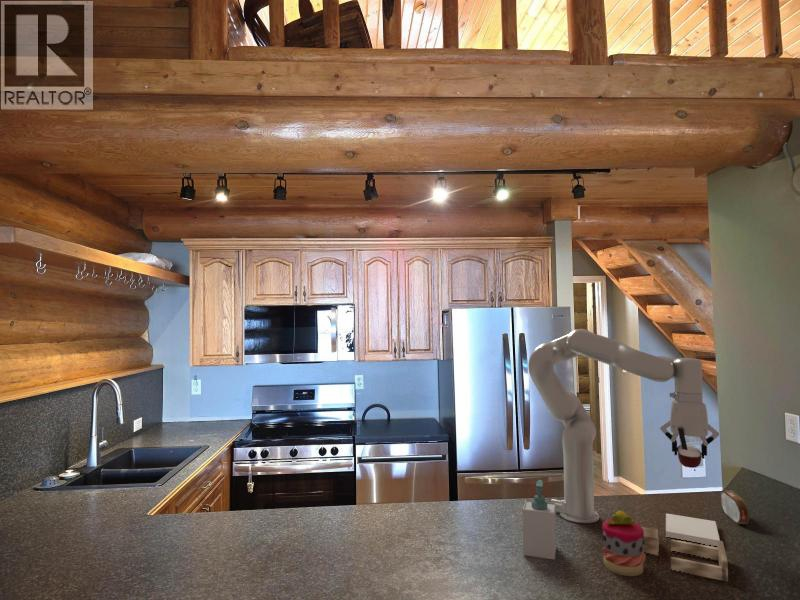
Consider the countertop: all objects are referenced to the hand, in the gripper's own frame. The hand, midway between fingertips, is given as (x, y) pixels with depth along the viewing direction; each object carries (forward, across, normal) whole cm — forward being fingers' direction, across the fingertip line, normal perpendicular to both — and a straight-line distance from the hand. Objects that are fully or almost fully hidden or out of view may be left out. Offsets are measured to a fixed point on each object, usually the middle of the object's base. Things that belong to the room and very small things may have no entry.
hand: (689, 455), depth 157 cm
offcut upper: (+23, -10, -16) cm, 29 cm away
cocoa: (+3, 0, 0) cm, 4 cm away
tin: (+25, +13, +22) cm, 36 cm away
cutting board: (+24, 0, +3) cm, 25 cm away
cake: (+25, -16, -32) cm, 43 cm away
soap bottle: (+25, -38, -33) cm, 56 cm away
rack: (+24, +2, -20) cm, 32 cm away
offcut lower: (+25, -10, -16) cm, 31 cm away
